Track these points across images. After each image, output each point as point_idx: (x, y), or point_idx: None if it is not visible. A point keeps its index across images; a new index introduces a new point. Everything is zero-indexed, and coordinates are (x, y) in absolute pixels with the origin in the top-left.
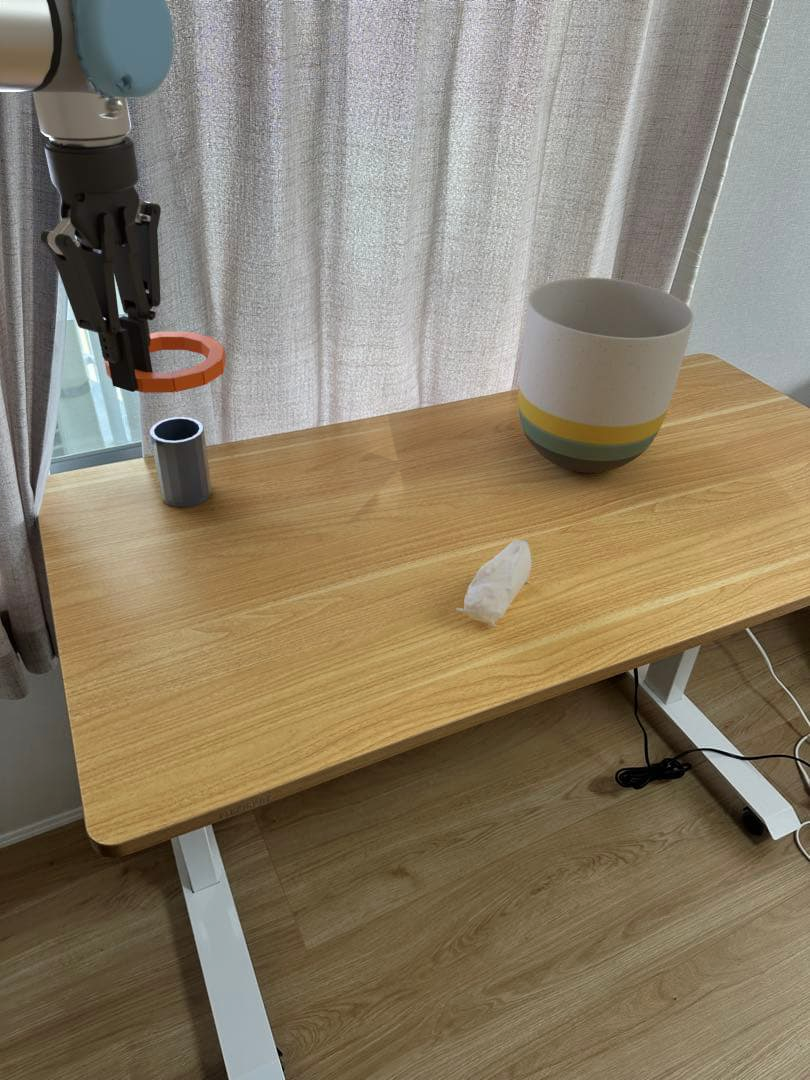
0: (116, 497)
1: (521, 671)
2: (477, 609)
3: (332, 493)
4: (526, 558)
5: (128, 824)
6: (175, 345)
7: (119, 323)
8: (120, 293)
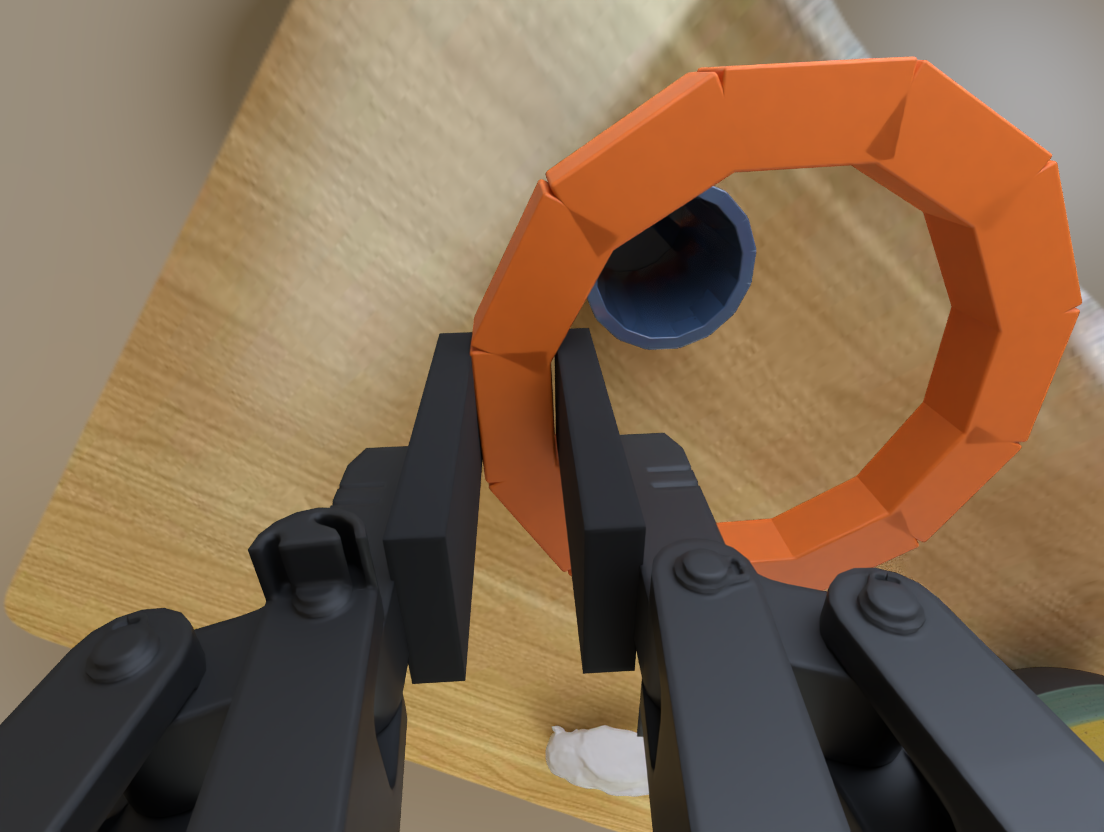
0: (519, 50)
1: (509, 776)
2: (547, 763)
3: (762, 469)
4: None
5: (35, 627)
6: (955, 279)
7: (403, 735)
8: (673, 740)
